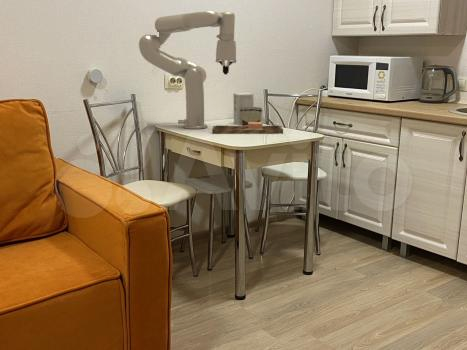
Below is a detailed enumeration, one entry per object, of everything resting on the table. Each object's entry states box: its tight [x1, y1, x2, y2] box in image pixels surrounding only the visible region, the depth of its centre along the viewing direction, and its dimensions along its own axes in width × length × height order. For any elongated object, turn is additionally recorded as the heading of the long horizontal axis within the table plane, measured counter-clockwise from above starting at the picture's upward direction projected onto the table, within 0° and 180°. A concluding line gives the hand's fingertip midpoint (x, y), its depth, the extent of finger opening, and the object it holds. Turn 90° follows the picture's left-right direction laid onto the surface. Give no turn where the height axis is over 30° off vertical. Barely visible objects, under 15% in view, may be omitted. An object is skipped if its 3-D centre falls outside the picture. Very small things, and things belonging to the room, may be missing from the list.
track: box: [211, 125, 284, 135], centre depth 261 cm, size 35×12×2 cm, turn 90°
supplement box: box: [232, 92, 255, 126], centre depth 287 cm, size 10×9×17 cm
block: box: [248, 121, 263, 129], centre depth 262 cm, size 7×7×4 cm
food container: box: [240, 106, 263, 126], centre depth 279 cm, size 12×6×10 cm, turn 84°
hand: (225, 74), depth 266 cm, fingers closed
